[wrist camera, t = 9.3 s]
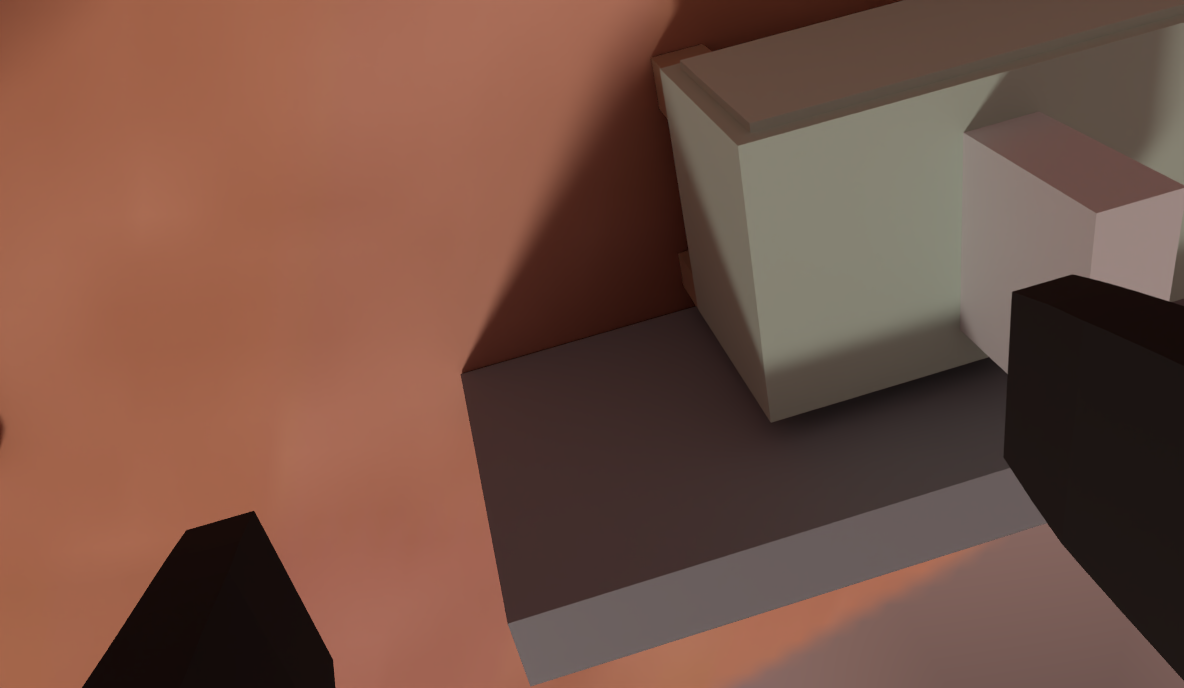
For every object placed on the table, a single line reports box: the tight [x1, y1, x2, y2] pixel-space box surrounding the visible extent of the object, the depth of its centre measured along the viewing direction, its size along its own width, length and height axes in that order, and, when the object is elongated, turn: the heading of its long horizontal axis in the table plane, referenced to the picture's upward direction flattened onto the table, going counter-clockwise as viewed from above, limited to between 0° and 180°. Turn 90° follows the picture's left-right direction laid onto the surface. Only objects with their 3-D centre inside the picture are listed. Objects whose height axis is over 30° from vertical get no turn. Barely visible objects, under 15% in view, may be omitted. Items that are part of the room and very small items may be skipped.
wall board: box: [461, 299, 1184, 686], centre depth 18 cm, size 18×4×7 cm, turn 100°
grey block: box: [651, 0, 1184, 423], centre depth 16 cm, size 8×5×8 cm, turn 101°
